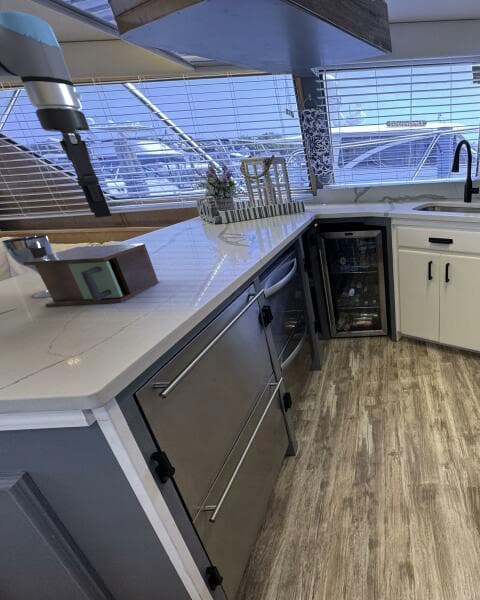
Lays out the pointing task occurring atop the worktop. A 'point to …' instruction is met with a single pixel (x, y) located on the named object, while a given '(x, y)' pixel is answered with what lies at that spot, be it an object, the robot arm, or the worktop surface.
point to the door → (95, 280)
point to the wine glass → (29, 252)
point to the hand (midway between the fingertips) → (101, 214)
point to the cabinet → (123, 260)
